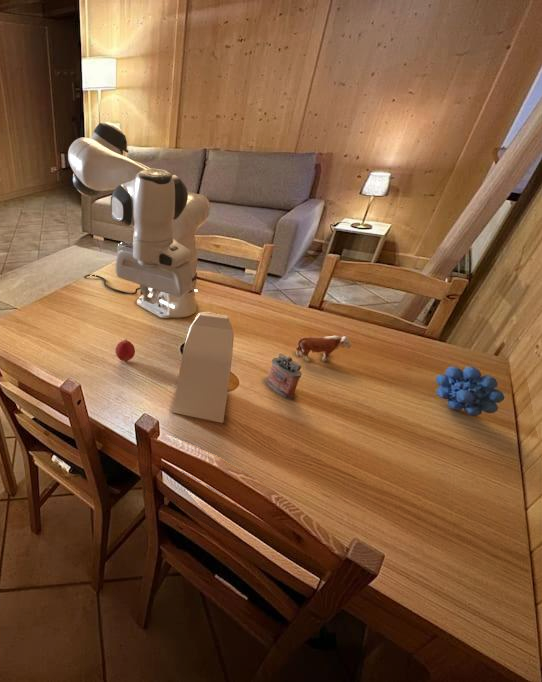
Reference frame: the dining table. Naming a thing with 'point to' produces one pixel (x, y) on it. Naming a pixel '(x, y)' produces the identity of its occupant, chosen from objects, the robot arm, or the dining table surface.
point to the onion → (125, 350)
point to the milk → (205, 368)
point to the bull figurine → (321, 345)
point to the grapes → (469, 390)
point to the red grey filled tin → (284, 376)
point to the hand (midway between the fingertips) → (150, 301)
